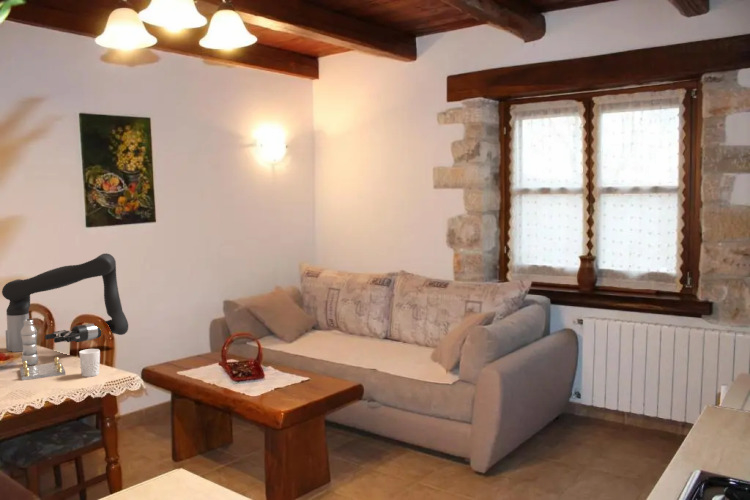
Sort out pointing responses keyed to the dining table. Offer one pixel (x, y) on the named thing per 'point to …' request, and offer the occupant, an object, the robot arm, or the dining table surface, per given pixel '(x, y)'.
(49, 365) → the plate
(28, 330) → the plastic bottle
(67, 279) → the robot arm
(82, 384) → the dining table surface
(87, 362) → the white cup
